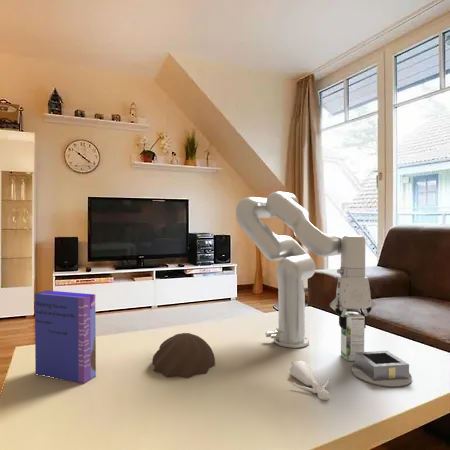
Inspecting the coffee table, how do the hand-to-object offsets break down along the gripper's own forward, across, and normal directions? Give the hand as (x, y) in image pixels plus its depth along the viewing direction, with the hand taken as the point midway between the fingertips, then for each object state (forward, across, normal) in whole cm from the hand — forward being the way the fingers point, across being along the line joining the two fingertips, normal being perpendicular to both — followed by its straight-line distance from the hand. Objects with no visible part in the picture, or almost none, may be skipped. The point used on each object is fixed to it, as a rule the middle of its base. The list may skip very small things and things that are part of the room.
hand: (352, 327), depth 117 cm
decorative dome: (+11, -55, +2) cm, 56 cm away
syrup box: (+10, 0, 0) cm, 10 cm away
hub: (+10, +2, -13) cm, 17 cm away
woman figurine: (+11, -21, -16) cm, 29 cm away
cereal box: (+10, -89, -1) cm, 90 cm away
